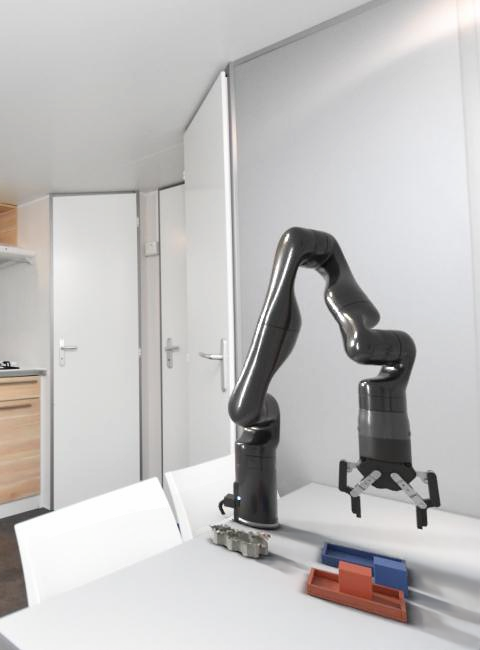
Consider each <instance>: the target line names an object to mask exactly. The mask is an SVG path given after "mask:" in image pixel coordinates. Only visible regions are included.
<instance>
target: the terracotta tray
mask: <svg viewBox="0 0 480 650" xmlns="http://www.w3.org/2000/svg"><path fill="white" fill-rule="evenodd" d="M309 571H310V572H309V573H308V578H307V581H306V594H307V595H309V596H313V597H317V598H320V599H323V600H326V601H331V602H333V603H338V604H341V605H344V606H348V607H351V608H355V609H358V610H361V611H365V612H368V613H372V614H375V615H379V616H381V617H385V618H389V619H393V620H396V621H399V622H402V623H408V617H407V616H408V615H407V607H406V599H405V597H404V592H403V591H401V590H397V589H393V588H389V587H386V586H382V585H378V584H375V582H372V594H373V601H370V600H366V599H363V598H359V597H356V596H352V595H348V594H345V593H341V592H339V573H337V572H336V573H335V572H332V571H327V570H324V569H320V568H317V567H313V566H311V567H310V569H309Z"/></svg>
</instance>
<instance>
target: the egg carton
mask: <svg viewBox="0 0 480 650" xmlns="http://www.w3.org/2000/svg"><path fill="white" fill-rule="evenodd" d="M208 526H209V527H210V529H211V540H212V541H213V544H214V545H220V546H225V547H227V550H228V551H229V550H230V551H236V552H240V553H242V556H244V557H249V558H255V559H258V558H260V555H263V556H268V555H269V543H268V541H269V540H270V539H271V534H269V533H267V532H263V531H256V533H255V532H253V531H251V530H250V531H245V530H243V529H239V528H232V527H231V526H230V525H227V524H224V525H223V523H220V524H213V525H209V524H208Z"/></svg>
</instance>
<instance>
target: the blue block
mask: <svg viewBox="0 0 480 650" xmlns="http://www.w3.org/2000/svg"><path fill="white" fill-rule="evenodd" d="M406 567H407V563H406V564H405V563H401V562H397V561H392V560H388V559H384V558H379V557H375V556H374V576H373V577H374V578H373V579H374V584H378V585H382V586H386V587H389V588H393V589H397V590H401V591H403V592H404V598H409V589H408V587H409V584H408V585H407V573H408V569H407V570H406Z"/></svg>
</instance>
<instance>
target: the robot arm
mask: <svg viewBox="0 0 480 650" xmlns="http://www.w3.org/2000/svg"><path fill="white" fill-rule="evenodd" d="M299 268H303V269H309V270H314V271H315V272H317V273H318V274H319V275H320V277H322V279H323V281H324V282H325V285H324V288H323V301H324V304H325V306H326V309H327V310H328V312H329V313H330V314H331V316H332V317H333V319H334V320H335V321H334V322H336V324H337V325H338V328H339V334H340V336H341V341H342V347H343V351H344V354H345V355H346V357H347V358H348V359H349V360H351V361H352V362H353V363H355V364H357V365H361V366H372V367H373V366H374V367H375V366H378V367H380V369H379V372H378V373H377V375H375V376H372V377H367V378H362V379H361V380H359V381H358V383H357V398H358V401H357V402H358V414H357V428H356V429H357V439H358V457H359V459H358V461H357V462H355V461H350V460H347V459H345V458H341V459H340V460H339V462H338V486H337V487H338V490H339V491H340V492H342V493H345V494H347V495H348V496H350V507H351V508H350V509H351V513H352V514H353V515H355V516H356V518H358V519H362V505H361V504H362V503H361V495H362V493H363V492H364V491H366V490H367V489H368V488H369V487H370V486H372V487H373V488H375V489H377V490H378V489H380V490H388V491H393V492H400V491H403V492H404V493H405V494H406V495H407V496H408V497H409V498H410V499H411V500H412V501H413V502H414V504H415V523H416V529H418V530H423V528H427V527H428V509H429V508H440V507H441V505H442V504H441V497H440V491H439V490H440V489H439V483H438V475H437V474H436V473H435V471H434V470H432V469H428V470H416V469H415V468H414V467H413V456H412V455H413V453H412V438H411V436H412V431H411V423H410V419H409V413H408V398H407V388H408V386H409V382H410V379H411V376H412V372H413V368H414V366H415V362H416V359H417V353H418V352H417V351H418V350H417V346H416V343H415V341H414V339H413V337H412V336H411V335H410V334H409V333H408V332H406V331H403V330H400V329H379V328H378V329H376V326H378V325H379V323H380V322H381V314H380V312H379V310H378V308H377V306H376V305H375V304H374V303H373V302H372V300H371V299H370V298H369V296H368V295H367V294H366V293H365V291H364V290H363V289H362V287H361V286H360V284H359V283H358V282H357V280H356V278H355V276H354V274H353V272H352V270H351V267H350V265H349V263H348V261H347V258H346V257H345V254H344V252H343V249H342V248H341V246H340V244H339V242H338V240H337V238H336V237H335V236H334V235H333V234H332V233H329V232H327V231H325V230H318V229H312V228H308V227H302V226H291V227H289V228H287V229H286V230H285V231H284V232H283V233H282V234H281V236H280V238H279V240H278V243H277V246H276V248H275V253H274V257H273V261H272V267H271V271H270V277H269V282H268V286H267V290H266V293H265V297H264V300H263V304H262V307H261V310H260V313H259V316H258V318H257V321H256V325H255V327H254V330H253V334H252V338H251V341H250V345H249V348H248V351H247V354H246V356H245V359H244V363H243V365H242V366H243V367H242V369H241V371H240V374H239V376H238V379H237V380H236V383H235V385H234V387H233V389H232V391H231V394H230V396H229V399H228V402H227V413H228V416H229V418H230V420H231V422H232V423H234V425H236V426H238V427H242V428H243V430H242V432H241V434H240V435H239V436H238V438H237V439H236V440H235V441H234V481H233V484H232V493H227V494H226V495H224V496H223V499H221V500H220V501H219V502H218V510H219V512H220V514H221V515H222V516H225V515H226V512H225V510H224V507H225V508H230V509H233V522H238V523H240V524H242V525H245V526H249V527H252V528H256V529H264V530H273V529H278V528H279V527H280V526H279V509H278V508H279V507H278V505H279V504H278V503H279V502H278V463H277V460H278V459H277V451H278V447H279V445H280V441H281V408H280V404H279V402H278V400H277V399H276V397H274V395H273V394H271V393H270V392H268V390H269V387H270V384H271V382H272V380H273V378H274V377H275V374H276V373H278V371H279V370H280V368H281V367H282V366H283V365H284V364H285V362H286V361H287V360H288V359H289V357H290V356H291V354H293V351H294V349H295V347H296V344H297V342H298V339H299V335H300V332H301V330H302V325H303V319H302V313H301V309H300V306H299V303H298V299H297V296H296V291H295V290H296V289H295V288H296V287H295V285H296V278H297V274H298V271H299ZM354 469H357V471H358V472H359V473H360V474H361V475H362V478H361V479H360V480H359V481H358V482H357V483H356V484H355V485H354V486H353V487H352V486H350V485H348V473H352V472H353V470H354ZM417 477H418V478H419V479H421V482H422V483H423V484H426V485H427V488H428V489H427V490H428V498H423V497H422V496H421V495H420V494H419V493H418V491H416V489H415V488H414V487H413V486H412V485H411V482H413V481H414V480H415V479H416V478H417Z"/></svg>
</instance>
